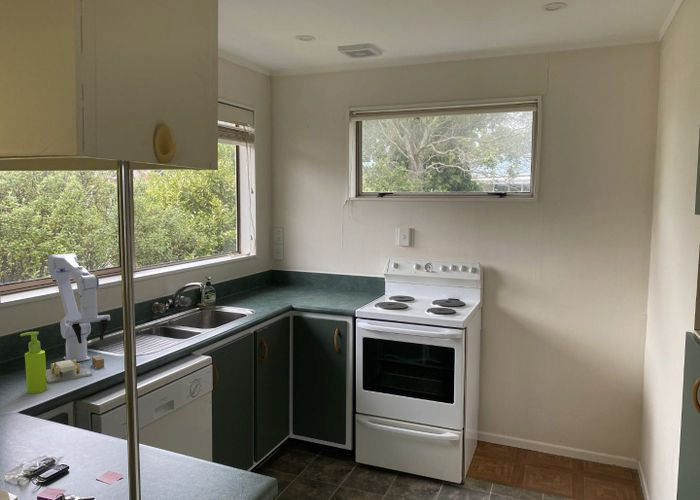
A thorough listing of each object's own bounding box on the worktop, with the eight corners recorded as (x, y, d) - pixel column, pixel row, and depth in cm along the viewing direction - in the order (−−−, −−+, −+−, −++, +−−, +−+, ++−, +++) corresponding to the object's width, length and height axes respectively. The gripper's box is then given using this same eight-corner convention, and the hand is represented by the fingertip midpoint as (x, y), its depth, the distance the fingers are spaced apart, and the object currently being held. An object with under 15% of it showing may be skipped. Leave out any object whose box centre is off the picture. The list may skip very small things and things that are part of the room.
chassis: (40, 372, 202) (39, 362, 202) (81, 365, 211) (80, 355, 210) (49, 383, 190) (48, 372, 189) (92, 375, 198) (91, 364, 198)
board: (55, 366, 202) (55, 362, 202) (70, 363, 205) (70, 359, 205) (60, 372, 195) (60, 367, 195) (76, 369, 198) (75, 365, 198)
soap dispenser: (25, 389, 184) (21, 331, 182) (48, 386, 187) (45, 329, 185) (21, 394, 179) (18, 335, 177) (45, 392, 181) (42, 333, 179)
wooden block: (92, 364, 212) (91, 356, 211) (100, 363, 213) (99, 355, 213) (96, 368, 207) (96, 360, 207) (104, 367, 209) (103, 358, 208)
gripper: (70, 310, 200) (72, 346, 201) (111, 305, 209) (113, 340, 210) (66, 307, 205) (68, 342, 207) (106, 302, 215) (108, 336, 216)
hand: (90, 341), depth 209 cm, fingers open, 7 cm apart
